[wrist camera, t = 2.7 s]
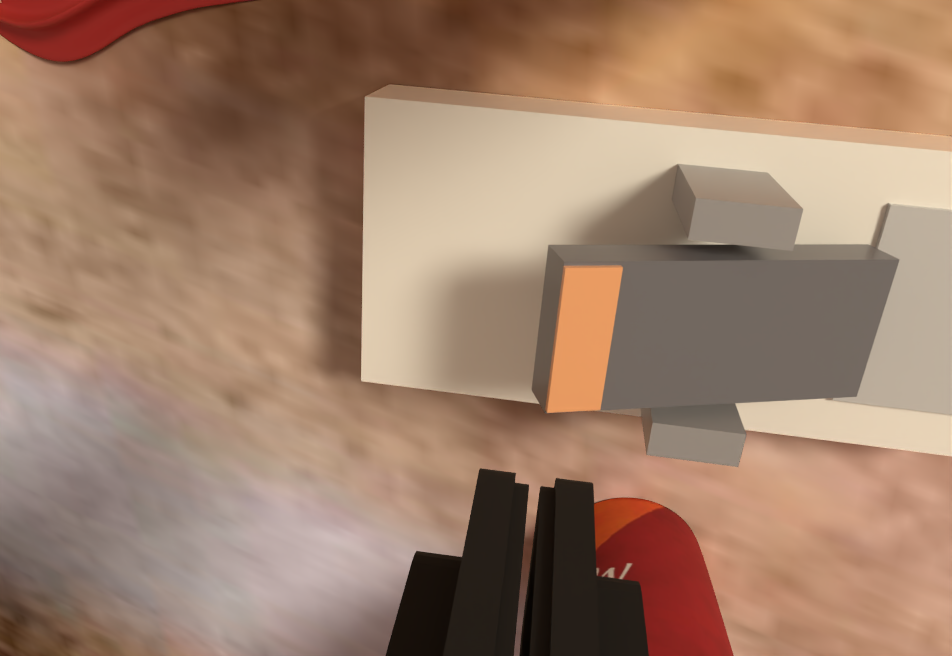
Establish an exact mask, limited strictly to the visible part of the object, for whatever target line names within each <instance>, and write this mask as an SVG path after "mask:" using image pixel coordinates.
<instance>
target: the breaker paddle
mask: <svg viewBox="0 0 952 656" xmlns="http://www.w3.org/2000/svg"><path fill="white" fill-rule="evenodd" d="M899 260H900V259H898V258H896V257H894V256H891V255H889V254H887V253H885V252H883V251H881V250H879V249H877V248H875V247H873V246H871V245H869V244H794V248H793V251H789V250H780V249H770V248H761V247H752V246H742V245H733V244H726V245H548V252H547V260H546V269H545V278H544V286H543V295H542V304H541V312H540V321H539V329H538V338H537V347H536V355H535V364H534V373H533V381H532V392H533V393H534V395H535V397H536V399H537V400H538V402H539V404H540V406H541V407H542V409H543V411H544V413H563V412H582V411H601V410H619V409H638V408H657V407H676V406H694V405H713V404H732V403H750V402H769V401H788V400H807V399H825V398H844V397H857V394H858V391H859V388H860V384H861V381H862V378H863V375H864V372H865V369H866V365H867V362H868V359H869V356H870V353H871V349H872V346H873V343H874V340H875V337H876V333H877V330H878V327H879V324H880V321H881V317H882V314H883V311H884V308H885V305H886V302H887V298H888V295H889V292H890V289H891V286H892V282H893V279H894V276H895V273H896V270H897V266H898V263H899Z"/></svg>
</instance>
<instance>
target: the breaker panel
mask: <svg viewBox="0 0 952 656" xmlns="http://www.w3.org/2000/svg"><path fill="white" fill-rule="evenodd" d="M726 244H733V245H742V246H752V247H761V248H770V249H780V250H789V251H793V248H794V244H869V245H871V246H873V247H875V248H877V249H879V250H881V251H883V252H885V253H887V254H889V255H891V256H894V257H896V258H898V259H900V260H899V263H898V266H897V270H896V273H895V276H894V279H893V282H892V286H891V289H890V292H889V295H888V298H887V302H886V305H885V308H884V311H883V314H882V317H881V321H880V324H879V327H878V330H877V333H876V337H875V340H874V343H873V346H872V349H871V353H870V356H869V359H868V362H867V365H866V369H865V372H864V375H863V378H862V381H861V384H860V388H859V391H858V394H857V397H844V398H825V399H807V400H788V401H769V402H750V403H732V404H713V405H694V406H676V407H657V408H638V409H619V410H601V411H600V412H608V413H616V414H623V415H631V416H639V417H642V424H643V432H644V439H645V447H646V455H651V456H658V457H666V458H674V459H681V460H689V461H696V462H704V463H712V464H719V465H727V466H735V467H738V466H739V462H740V458H741V454H742V450H743V446H744V442H745V438H746V432H745V430H749V431H757V432H765V433H773V434H781V435H789V436H797V437H804V438H812V439H820V440H828V441H836V442H844V443H852V444H859V445H867V446H875V447H883V448H891V449H899V450H907V451H915V452H922V453H930V454H938V455H946V456H952V136H944V135H934V134H923V133H912V132H901V131H890V130H880V129H869V128H858V127H847V126H836V125H826V124H815V123H804V122H793V121H782V120H771V119H761V118H750V117H739V116H728V115H717V114H707V113H696V112H685V111H674V110H663V109H652V108H642V107H631V106H620V105H609V104H598V103H588V102H577V101H566V100H555V99H544V98H533V97H523V96H512V95H501V94H490V93H479V92H469V91H458V90H447V89H436V88H425V87H414V86H404V85H393V84H389V85H387V86H385V87H383V88H381V89H379V90H377V91H375V92H373V93H371V94H369V95H367V96H365V118H364V195H363V273H362V350H361V381H364V382H372V383H379V384H387V385H395V386H403V387H411V388H419V389H427V390H435V391H442V392H450V393H458V394H466V395H474V396H482V397H490V398H497V399H505V400H513V401H521V402H529V403H537V404H539V402H538V400H537V399H536V397H535V395H534V393H533V392H532V381H533V373H534V364H535V355H536V347H537V338H538V329H539V321H540V312H541V304H542V295H543V286H544V278H545V269H546V260H547V252H548V245H726Z"/></svg>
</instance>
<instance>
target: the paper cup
mask: <svg viewBox="0 0 952 656" xmlns="http://www.w3.org/2000/svg"><path fill="white" fill-rule="evenodd" d="M594 516H595V543H596V569H597V576H603V577H610V578H617V579H625V580H632V581H639V583H640V585H641V591H642V598H643V607H644V616H645V625H646V634H647V643H648V652H649V656H733V652H732V649H731V646H730V642H729V639H728V636H727V632H726V629H725V626H724V622H723V619H722V616H721V612H720V609H719V606H718V603H717V599H716V596H715V593H714V590H713V586H712V583H711V580H710V576H709V573H708V570H707V567H706V564H705V561H704V558H703V555H702V552H701V550H700V547H699V544H698V542H697V539H696V537H695V535H694V534H693V532H692V530H691V529H690V527H689V526H688V525H687V523H686V522H685V521H684V520H683V519H682V518H681V517H680V516H678V515H677V514H676V513H675V512H673V511H672V510H670V509H668V508H666V507H664V506H662V505H660V504H658V503H655V502H652V501H648V500H644V499H638V498H614V499H608V500H604V501H601V502H598V503H595V504H594Z"/></svg>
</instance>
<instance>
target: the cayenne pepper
mask: <svg viewBox="0 0 952 656" xmlns="http://www.w3.org/2000/svg"><path fill="white" fill-rule="evenodd" d="M1 1H2V3H0V34H1V35H2V36H3V37H5V38H6V39H7V40H9V41H10V42H12V43H13V44H15V45H17V46H18V47H20V48H22V49H24V50H26V51H28V52H30V53H32V54H34V55H36V56H39V57H41V58H44V59H48V60H52V61H62V62H67V61H73V60H78V59H81V58H84V57H87V56H89V55H91V54H93V53H95V52H97V51H99V50H101V49H102V48H104V47H106V46H107V45H109V44H110V43H112V42H113V41H115V40H117V39H118V38H120V37H121V36H123V35H124V34H126V33H128V32H129V31H131V30H133V29H135V28H136V27H139V26H141V25H143V24H146V23H148V22H151V21H153V20H157V19H160V18H163V17H166V16H169V15H172V14H176V13H179V12H182V11H186V10H190V9H195V8H200V7H206V6H212V5H219V4H226V3H234V2H241V1H252V0H1Z"/></svg>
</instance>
